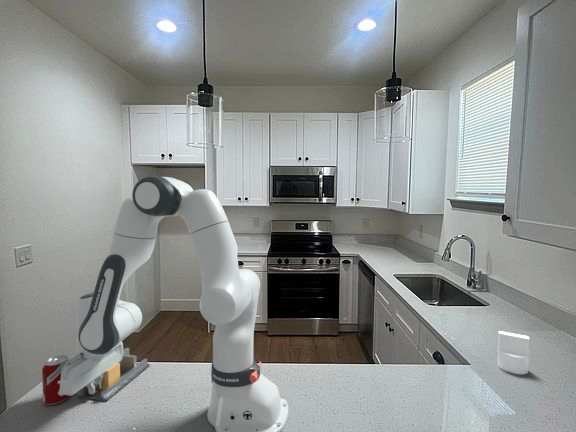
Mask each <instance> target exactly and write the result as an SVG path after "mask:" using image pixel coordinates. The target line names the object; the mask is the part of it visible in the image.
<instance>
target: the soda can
mask: <svg viewBox="0 0 576 432" xmlns="http://www.w3.org/2000/svg"><path fill="white" fill-rule="evenodd" d="M68 360H69V356H67V355H56V356H52V357H50V358H48V359H46V360H45V362H44V365H43V367H42V369H41V370H42V371H41V375H42V377H41V381H42V403H43V404H45V405H50V406H53V405H58V404H61V403H63V402H64V401H66V400H68V399H69V398H70V397H71V396H69V395H63V394H61V393H60V380H61V374H62V369H63V367H64V366H65V364H66V363H67V361H68Z"/></svg>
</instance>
